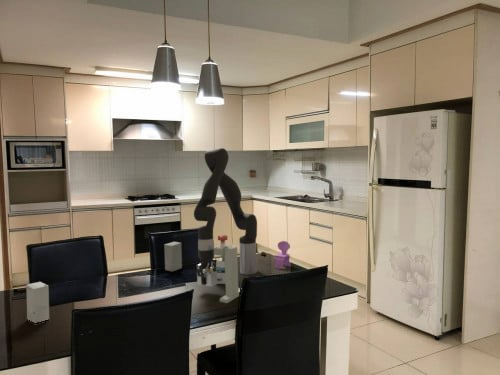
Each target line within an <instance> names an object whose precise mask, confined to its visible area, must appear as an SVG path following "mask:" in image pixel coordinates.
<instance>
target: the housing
mask: <svg viewBox="0 0 500 375" xmlns="http://www.w3.org/2000/svg"><path fill="white" fill-rule="evenodd" d="M213 269H214V267H213V268H209V270H208V271H207V273H206V285H204V287H205V286H206V287H213V286H215V285H218V284H217V271H213ZM203 270H204V269H203ZM200 274H201V273H200ZM203 275H204V272H203ZM196 277H197V278H196V279H197V280H196V281H197V285H199V286H203V285H202V283H201V277H199V276H198V274H197V273H196Z"/></svg>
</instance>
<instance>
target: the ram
mask: <svg viewBox="0 0 500 375" xmlns="http://www.w3.org/2000/svg"><path fill="white" fill-rule="evenodd" d="M217 241H220V246H221V248H225V245H226V241H228V235H226V234H222V235H217ZM216 264H217V267H221V268H225V255H224V256H221V257H220V258H218V259H216Z"/></svg>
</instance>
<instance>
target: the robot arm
mask: <svg viewBox="0 0 500 375" xmlns="http://www.w3.org/2000/svg"><path fill="white" fill-rule="evenodd" d="M204 161H205V164H206V166H207V168H208V169H209V171H210V172H211V175H210V176H209V178H207V180H206V181H205V183H204V186H203V188H202V193H201V197H200V199H199V200H198V202H197V203H196V206H195V208H194V211H193V217H194V219H195V221H197V222H206V224H205V225H202V226H198V229H197V234H198V241H197V242H198V243H197V246H198V247H197V248H198V249H197V251H198V259H199V260H200V261H199V264H196V265H195V267H196V275H197V274H198V276H199V277H201V283H202V285H201V286H205V285H206V273H207V271H208V270H209V268H213V271H216V260H217V259H216V258H215V255H214V248H215V240H214V226H215V222H216V218H217V210H216V208H215V207H214V206H209V205H213V204H215V203H216V199H217V195H218V191H219V189H220V190H221V193H222V195H223V197H224V199H225V201H226V203H227V205H228V207H229V210H230V212H231V215H232V217H233V221H234V223H235V225H236V227H237V228H238V230H241V231H242V230H243V231H245V234H244V235H242V236H240V237H239V240H238V242H239V271H240V274H241V275H249V276H250V275H254V274H256V273H257V272H258V262H257V259H258V258H257V242H256V240H257V237H258V220H257V217H256V215H255V214H252V213H245V212H244V211H243V208H242V207H241V201H242V192H241V190H240V187H239V185H238V183H237V182H236V180H234V179H233V178H232V177H230V175H228V174H227V173H225V170H226V168H227V167H228V166H227V165H228V162H229V152H228V151H227V150H226V149H225V148H221V147H220V148H214V149H208V150H206V152H205V153H204ZM203 269H204V270H203ZM203 272H204V275H203ZM200 273H201V274H200Z"/></svg>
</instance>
